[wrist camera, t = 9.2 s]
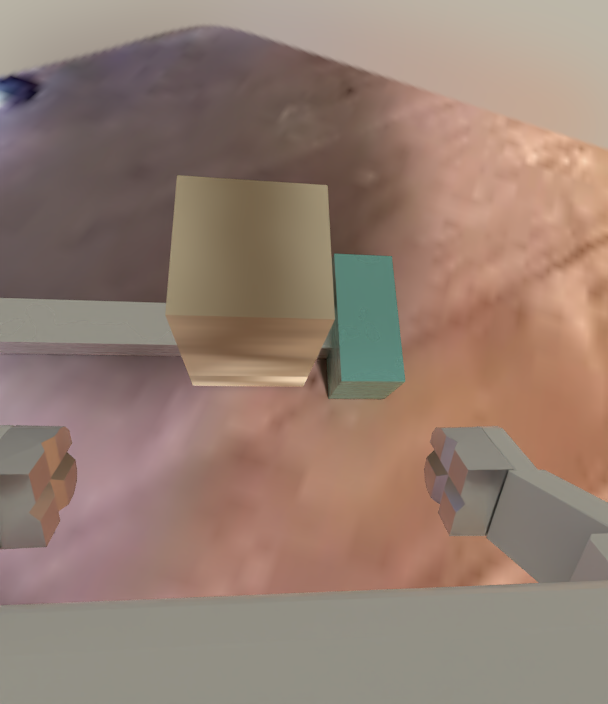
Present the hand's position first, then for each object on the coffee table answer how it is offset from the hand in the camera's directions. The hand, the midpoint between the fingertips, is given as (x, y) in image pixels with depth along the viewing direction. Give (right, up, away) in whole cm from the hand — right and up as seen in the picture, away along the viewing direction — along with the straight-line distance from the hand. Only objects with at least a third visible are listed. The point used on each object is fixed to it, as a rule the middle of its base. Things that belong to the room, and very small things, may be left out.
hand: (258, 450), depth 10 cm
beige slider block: (-2, +3, +11) cm, 12 cm away
